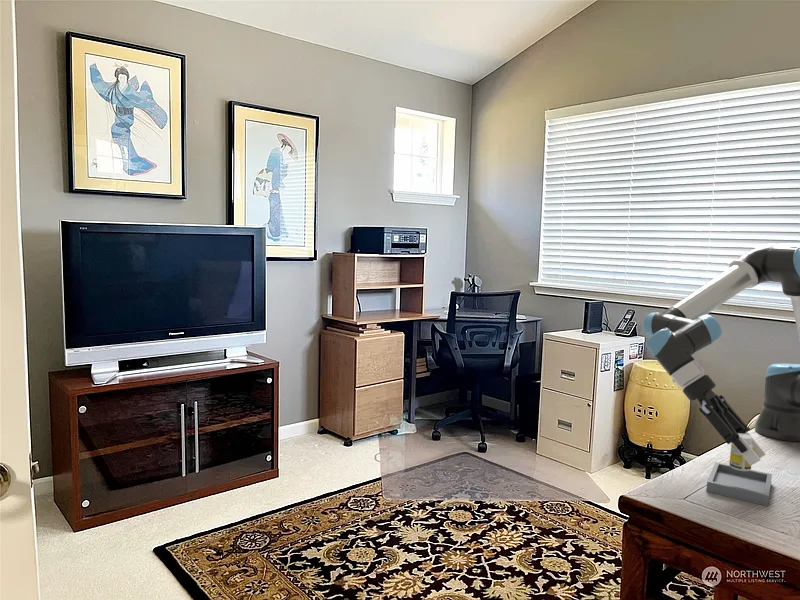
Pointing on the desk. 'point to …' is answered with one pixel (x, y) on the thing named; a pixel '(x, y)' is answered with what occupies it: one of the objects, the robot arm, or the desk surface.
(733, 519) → the desk surface
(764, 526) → the desk surface
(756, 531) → the desk surface
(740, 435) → the supplement bottle
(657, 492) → the desk surface
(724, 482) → the tray
